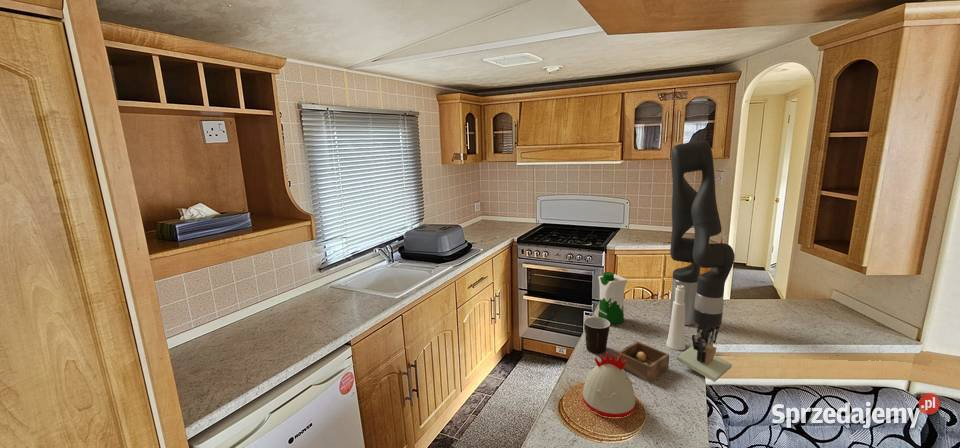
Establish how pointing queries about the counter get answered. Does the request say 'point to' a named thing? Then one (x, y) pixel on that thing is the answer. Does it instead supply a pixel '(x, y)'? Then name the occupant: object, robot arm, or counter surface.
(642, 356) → the ball
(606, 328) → the coffee mug
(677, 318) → the cosmetic bottle
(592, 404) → the cream dome
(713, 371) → the lid
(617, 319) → the milk carton
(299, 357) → the counter surface
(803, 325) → the counter surface
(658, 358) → the box
